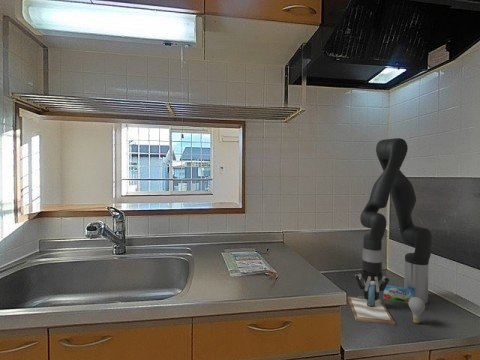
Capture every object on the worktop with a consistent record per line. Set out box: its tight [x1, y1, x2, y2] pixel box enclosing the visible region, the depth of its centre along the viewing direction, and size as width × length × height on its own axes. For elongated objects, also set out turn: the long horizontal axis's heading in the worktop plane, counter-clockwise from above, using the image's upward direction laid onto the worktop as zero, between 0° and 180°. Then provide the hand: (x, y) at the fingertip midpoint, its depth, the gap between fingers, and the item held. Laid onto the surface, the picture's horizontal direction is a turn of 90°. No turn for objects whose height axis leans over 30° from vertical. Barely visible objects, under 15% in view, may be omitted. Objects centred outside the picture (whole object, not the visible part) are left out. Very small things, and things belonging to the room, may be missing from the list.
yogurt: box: [382, 284, 414, 305], centre depth 129 cm, size 12×2×6 cm, turn 61°
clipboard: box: [347, 295, 396, 326], centre depth 120 cm, size 20×14×2 cm
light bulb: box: [408, 297, 426, 324], centre depth 110 cm, size 6×6×10 cm
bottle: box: [367, 281, 375, 307], centre depth 122 cm, size 3×3×11 cm
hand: (371, 299), depth 122 cm, fingers closed on bottle, 3 cm apart
